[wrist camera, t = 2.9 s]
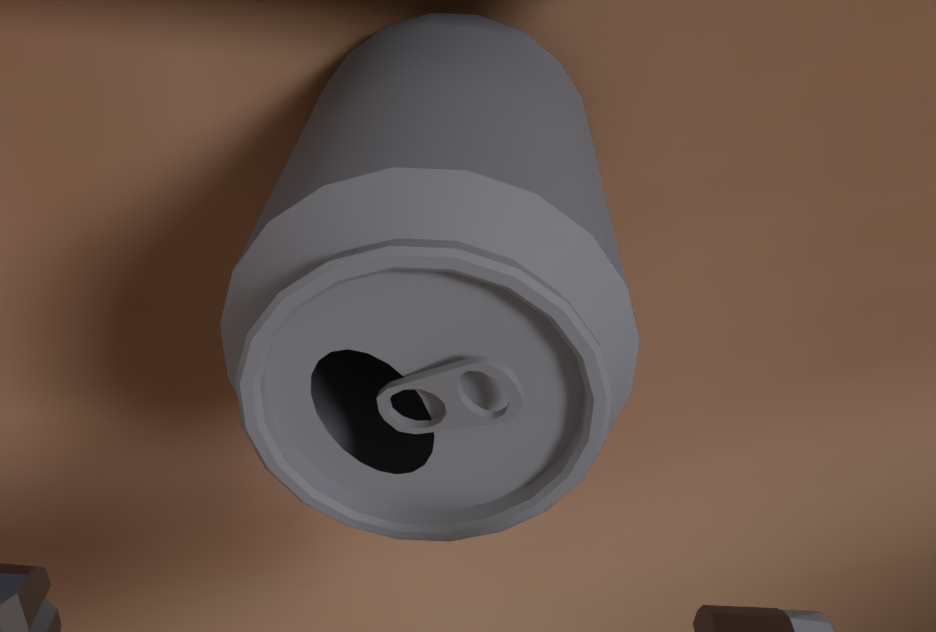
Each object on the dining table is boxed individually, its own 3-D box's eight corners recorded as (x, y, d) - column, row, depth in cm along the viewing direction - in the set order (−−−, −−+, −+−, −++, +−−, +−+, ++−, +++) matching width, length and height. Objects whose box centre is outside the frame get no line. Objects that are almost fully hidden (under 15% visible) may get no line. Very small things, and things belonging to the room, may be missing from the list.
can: (265, 77, 24) (94, 326, 14) (523, -49, 22) (545, 132, 12) (397, 294, 27) (338, 617, 17) (627, 202, 25) (712, 505, 15)
